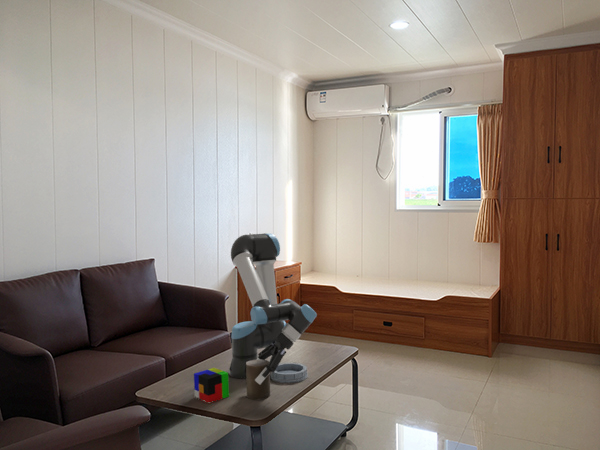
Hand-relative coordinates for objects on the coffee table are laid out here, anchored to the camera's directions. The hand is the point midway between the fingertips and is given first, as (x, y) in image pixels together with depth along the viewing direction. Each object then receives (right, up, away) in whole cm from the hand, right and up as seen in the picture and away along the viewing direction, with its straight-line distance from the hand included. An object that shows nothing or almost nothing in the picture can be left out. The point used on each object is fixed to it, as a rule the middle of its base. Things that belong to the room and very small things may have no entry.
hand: (253, 377), depth 209 cm
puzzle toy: (-17, -9, +1) cm, 19 cm away
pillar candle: (+2, -8, +1) cm, 8 cm away
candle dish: (+14, -6, +23) cm, 28 cm away
